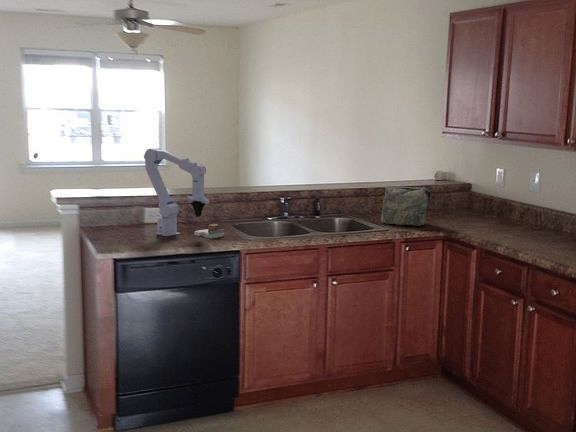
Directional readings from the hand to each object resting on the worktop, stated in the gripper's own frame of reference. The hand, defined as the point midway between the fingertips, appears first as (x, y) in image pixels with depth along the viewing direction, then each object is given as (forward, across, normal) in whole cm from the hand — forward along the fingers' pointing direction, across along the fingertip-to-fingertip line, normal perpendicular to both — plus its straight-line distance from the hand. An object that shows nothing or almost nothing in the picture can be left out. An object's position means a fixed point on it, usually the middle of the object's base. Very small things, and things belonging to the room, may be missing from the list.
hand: (198, 216), depth 330 cm
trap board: (+10, -1, -6) cm, 12 cm away
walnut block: (+8, -4, -6) cm, 11 cm away
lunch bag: (+11, -48, -115) cm, 125 cm away
